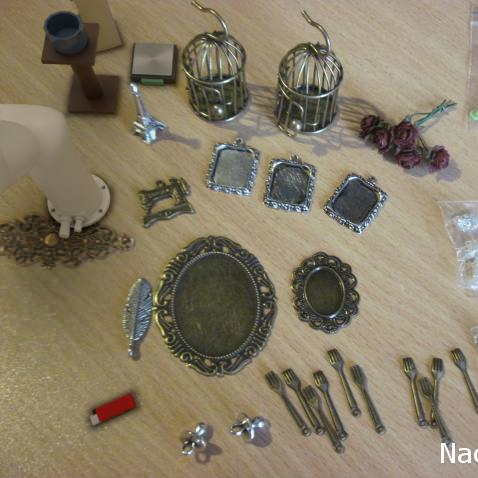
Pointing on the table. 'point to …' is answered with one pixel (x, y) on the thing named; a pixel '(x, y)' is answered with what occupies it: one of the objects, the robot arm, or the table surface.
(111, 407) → the lighter
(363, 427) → the table surface
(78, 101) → the stand
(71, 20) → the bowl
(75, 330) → the table surface
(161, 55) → the scale
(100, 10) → the beige tall block
